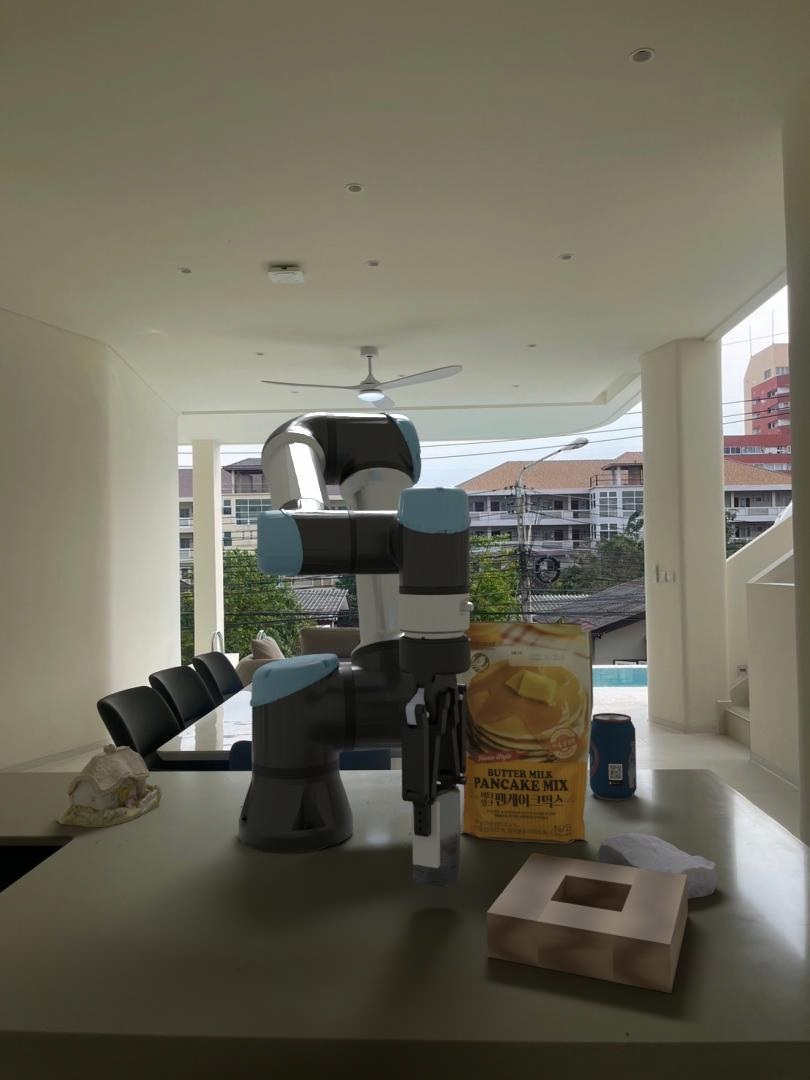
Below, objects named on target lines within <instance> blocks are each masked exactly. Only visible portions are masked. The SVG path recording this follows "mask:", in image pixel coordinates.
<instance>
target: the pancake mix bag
mask: <svg viewBox="0 0 810 1080" xmlns="http://www.w3.org/2000/svg"><path fill="white" fill-rule="evenodd" d="M582 626H583V624H582V623H579V622H532V621H521V620H519V621H518V620H470V628H469V629H468V630H467V631H465V632H464V635H467V636H468V637H469V638H470V647H471V666H470V669H469V670H468V671H466V672H464V673H461V674H456V678H457V684H466V685H467V696H466V705H465V707H466V772H465V774H461V776H466V777H467V783H466V785H463V808H462V809H463V812H462V818H461V822H460V833H466V834H469V835H472V836H474V837H475V838H476V839H477V838H479V839H484V840H485V839H486V840H494V841H496V840H497V841H506V842H507V841H508V842H518V843H519V842H522V843H523V842H525V843H539V844H540V843H541V844H552V845H553V844H556V845H557V844H559V845H560V844H562V845H563V844H566V845H569V844H571V843H573V842H574V841H581V840H588V835H587V830H586V825H585V822H584V813H585V807H586V799H587V798H586V795H587V788H588V773H589V772H588V770H589V749H590V737H591V728H592V724H591V721H592V717H593V709H594V685H593V683H594V679H593V678H594V677H593V675H594V673H593V672H594V670H593V658H594V647H593V646H594V644H593V636H592V631H591V629H587V630H586V629H585V630H582V628H583V627H582Z"/></svg>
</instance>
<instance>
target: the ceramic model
mask: <svg viewBox="0 0 810 1080" xmlns="http://www.w3.org/2000/svg"><path fill="white" fill-rule="evenodd" d="M150 777H151V774H150V772H149V769H148V767H147V765H146V763H145V761H144V759H143V757H142V756H141V755H140V753H138V752H136V751H134V750H133V749H131V748H130V746H125V745H121V746H118V747H116V745H115V743H110V744H108V745H104V746H103V751H101V752H98V753H96V754H94V755H93V756H92V757H91V758H90V760H89V762H87V764H85V766H84V767H83V769H82V770H81V771H80V772H79V773H78V774H77V775H75V777H74V778H73V779H72V781H71V782H70V784H69V786H68V788H67V794H68V796H69V806H70V807H68V808H67V809H65V810H63V811H62V812H61V815H60V816H59V818H57V822H58V824H60V825H73V826H79V827H81V826H82V827H87V828H88V827H90V828H99V827H109V826H113V825H119V824H124V823H127V822H130V821H132V820H134V819H137V818H138V817H141V816H143V815H145V814H147V813H149V812H150V811H153V810H154V809H156V808H157V807H158V806H159V805H160V801H161V799H162V796H163V794H162V792H163V790H162V786H160V784H149V783H146V782H147V778H150Z"/></svg>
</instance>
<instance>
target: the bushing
mask: <svg viewBox="0 0 810 1080" xmlns="http://www.w3.org/2000/svg"><path fill="white" fill-rule="evenodd" d="M458 788H459V787H458ZM458 788H457V787H455V786H452V785H447V784H441V783H437V787H436V800H435V801H439V802H440V866H439V867H438V868H433V867H427V866H421V865H416V864H413V863H412V870H413V871H412V877H413V880H414V881H416V883H418V884H421V885H423V886H427V887H446V886H452V885H455V884H457V883H458V882H459V881H460V880H461V878H462V873H461V871H462V868H461V866H462V864H461V862H462V861H461V860H462V858H461V832H460V828H461V795H460V794H461V790H460V788H459V789H458Z"/></svg>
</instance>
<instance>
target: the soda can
mask: <svg viewBox="0 0 810 1080" xmlns="http://www.w3.org/2000/svg"><path fill="white" fill-rule="evenodd" d="M591 724H592V728H591V737H590V749H589V759H588V770H589V787H590V789H591V791H592V793H593V794H594V797H596V798H599V799H601V800H604V801H605V800H606V801H610V802H611V801H613V802H614V801H615V802H616V801H617V802H619V801H627V800H630V799H632V798H633V796H634V795H635V792H636V791H637V788H638V787H637V752H636V751H637V749H636V747H637V746H636V745H637V743H636V728H635V726H634V723H633V721H632V717H631V716H630V715H628V714H625V713H624V714H623V713H615V712H603V713H602V712H601V713H595V714H592V718H591Z"/></svg>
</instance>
